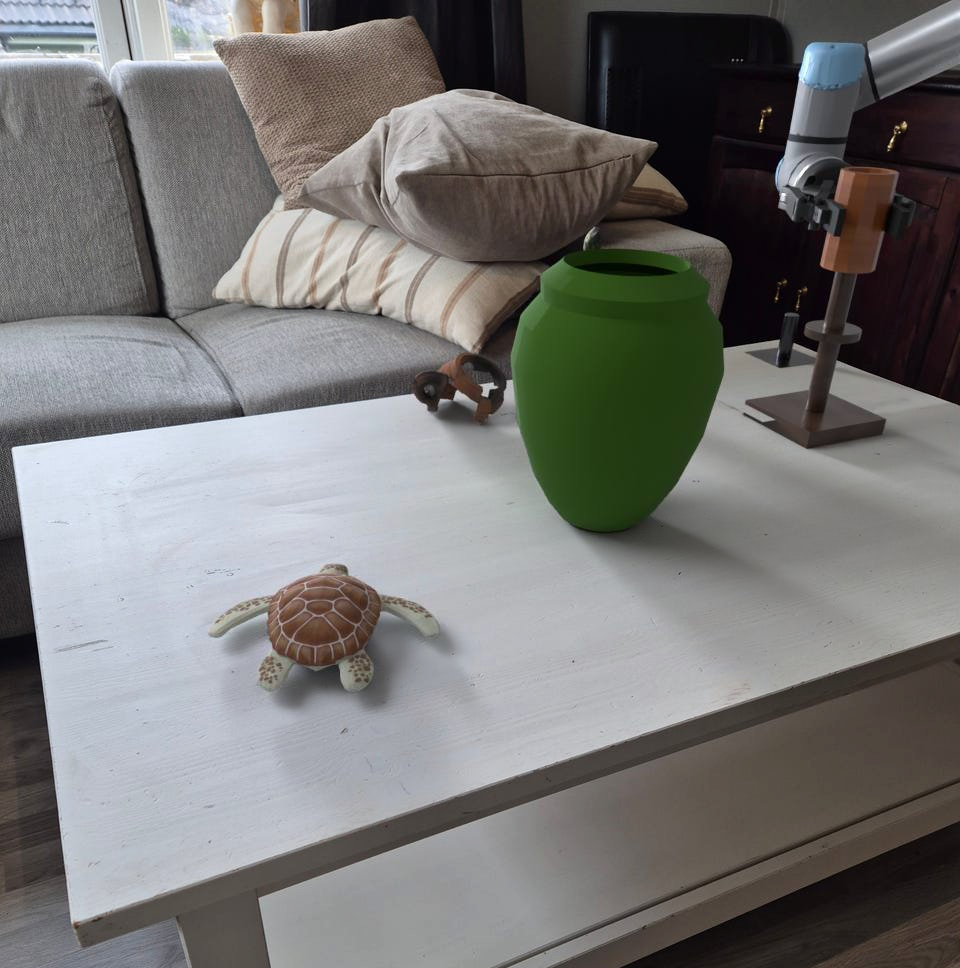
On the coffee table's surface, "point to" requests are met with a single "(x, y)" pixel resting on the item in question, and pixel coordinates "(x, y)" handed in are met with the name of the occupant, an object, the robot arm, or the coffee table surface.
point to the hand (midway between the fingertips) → (871, 224)
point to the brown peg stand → (822, 385)
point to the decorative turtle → (323, 625)
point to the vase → (615, 381)
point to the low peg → (785, 347)
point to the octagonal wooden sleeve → (860, 219)
